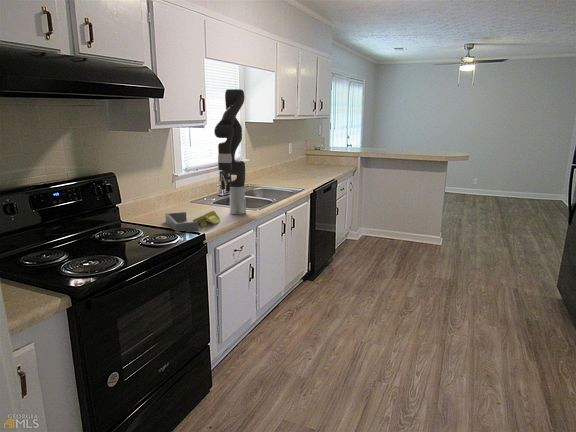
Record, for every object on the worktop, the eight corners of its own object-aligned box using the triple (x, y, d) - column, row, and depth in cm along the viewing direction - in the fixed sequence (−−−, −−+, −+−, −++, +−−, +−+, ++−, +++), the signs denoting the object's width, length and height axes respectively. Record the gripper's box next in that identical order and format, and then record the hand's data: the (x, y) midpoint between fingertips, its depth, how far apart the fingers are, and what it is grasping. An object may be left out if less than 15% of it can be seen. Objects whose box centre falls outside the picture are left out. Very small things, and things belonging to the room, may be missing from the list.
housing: (185, 220, 240) (185, 211, 239) (198, 231, 216) (197, 222, 215) (165, 222, 235) (165, 213, 234) (176, 233, 211) (175, 224, 210)
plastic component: (200, 216, 241) (215, 209, 239) (206, 227, 241) (221, 220, 240) (189, 221, 221) (205, 213, 220) (195, 233, 222) (211, 226, 220)
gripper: (235, 162, 225) (236, 191, 228) (227, 160, 237) (227, 188, 241) (222, 162, 221) (223, 192, 225) (214, 160, 234) (215, 189, 237)
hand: (225, 190), depth 233 cm, fingers open, 8 cm apart
